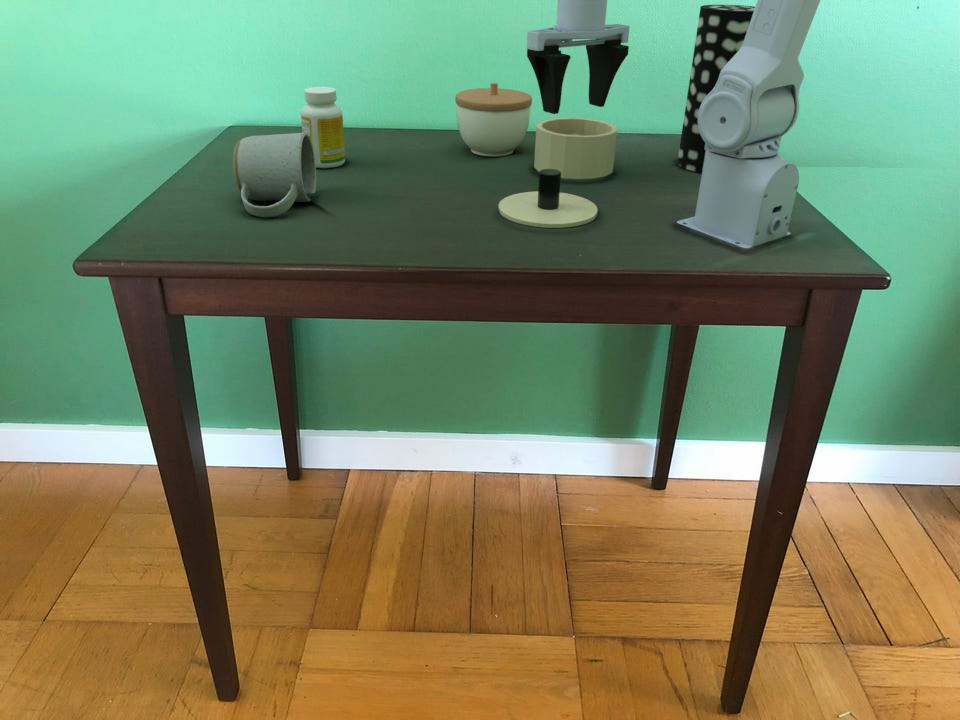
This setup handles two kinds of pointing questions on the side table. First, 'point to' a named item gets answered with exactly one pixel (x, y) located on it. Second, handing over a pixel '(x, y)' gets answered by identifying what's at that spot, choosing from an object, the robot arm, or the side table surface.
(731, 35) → the white-spotted black cylinder
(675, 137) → the side table surface
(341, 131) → the supplement bottle
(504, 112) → the trinket box
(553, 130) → the tin
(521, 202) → the tin lid
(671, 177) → the side table surface
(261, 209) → the ceramic mug
